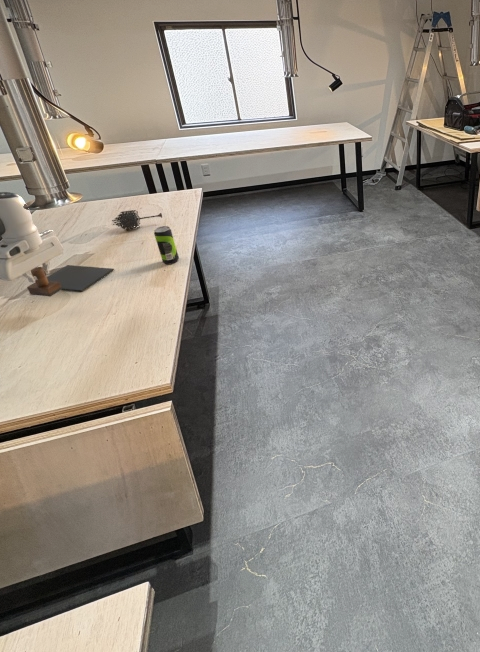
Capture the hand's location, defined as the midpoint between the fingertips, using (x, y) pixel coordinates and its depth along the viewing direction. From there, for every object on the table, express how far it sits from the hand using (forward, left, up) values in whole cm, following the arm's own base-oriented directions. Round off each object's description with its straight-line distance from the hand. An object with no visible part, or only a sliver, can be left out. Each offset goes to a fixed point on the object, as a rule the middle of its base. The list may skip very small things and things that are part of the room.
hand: (40, 277), depth 138 cm
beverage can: (+19, +37, -13) cm, 44 cm away
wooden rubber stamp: (0, 0, -6) cm, 6 cm away
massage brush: (-19, +66, -13) cm, 70 cm away
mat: (-11, +19, -13) cm, 26 cm away
